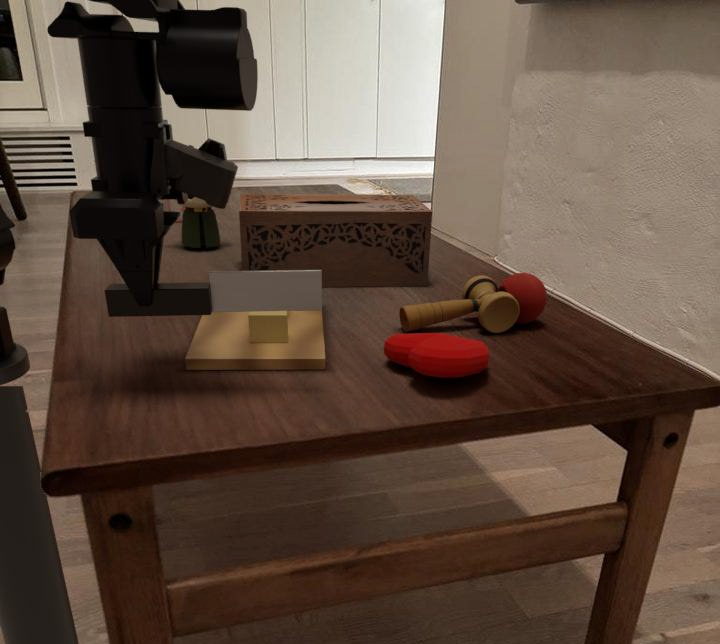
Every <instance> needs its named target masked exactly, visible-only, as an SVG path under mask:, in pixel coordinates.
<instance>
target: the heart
mask: <svg viewBox="0 0 720 644" xmlns="http://www.w3.org/2000/svg"><path fill="white" fill-rule="evenodd" d="M383 354H384V355H385V356H386V358H388V359H389V361H391V362H393V363H396V364H399V365H401V366H405V367H408V368H411V369H412V370H414V371H415V372H417V373H419V374H420V375H424V376H429V377H437V378H463V377H467V376H471V375H474V374H479V373H481V372H482V371H484V370H485V369H486V368H488V365H489V362H490V348H489V347H488V345H486V343H484V341H480V340H475V339H471V338H466V337H461V336H457V335H451V334H448V333H443V332H420V333H419V332H418V333H415V332H414V333H395V334H393V335H391V336H390V337H388V338H387V339H386V340H385V341H384V344H383Z"/></svg>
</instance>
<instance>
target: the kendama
mask: <svg viewBox="0 0 720 644" xmlns="http://www.w3.org/2000/svg"><path fill="white" fill-rule="evenodd" d="M547 301H548V293H547V290H546V287H545V284H544V283H543V281H541V279H540V278H539V277H537V276H535V275H534V274H531V273H528V272H517V273H514V274H511V275H508V277H506V278H505V279H504V280H503V281H501V283H500V285H499V286H498V285H497V283H496V282H495V280H494V279H492V278H491V277H489V276H488V275H476V276H473V277H472V278H470V279H469V280H468V281H467V282H466V283H465V285H464V286H463V288H462V292H461V299H451V300H450V299H449V300H441V301H436V302H428V303H419V304H411V305H410V304H409V305H402V306H400V307H399V313H398V315H399V322H400V326H401V328H402V330H403V332H405V333H410V332H412V331H416V330H418V329H422V328H426V327H429V326H432V325H437V324H440V323H444V322H448V321H452V320H454V319H458V318H461V317H463V316H464V317H465V316H467V315H469V314H472V313H474V312H476V313H477V318H478V322H479V324H480V325H481V326H482V327H483V328H484V330H486V331H487V332H489V333H491V334H501V333H505V332H507V331H508V330H510V329H511V328H512V327H513V326H514V325H515V324H517V325H525V324H528V323H531V322H533V321H535V320H537V319H538V318H539V317H540V316H541V315H542V313H543V311H544V310H545V308H546V305H547Z"/></svg>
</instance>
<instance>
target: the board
mask: <svg viewBox="0 0 720 644" xmlns="http://www.w3.org/2000/svg"><path fill="white" fill-rule="evenodd" d="M248 315H249V312H212V313H211V315H201V317H200V320H199V322H198V324H197V327H196V330H195V333H194V335H193V337H192V340H191V343H190V345H189V347H188V350H187V352H186V355H185V357H184V363H185V371H229V370H230V371H237V370H238V371H264V370H265V371H272V370H273V371H275V370H276V371H281V370H282V371H283V370H284V371H286V370H287V371H288V370H289V371H290V370H291V371H293V370H294V371H296V370H298V371H299V370H300V371H306V370H309V371H310V370H311V371H312V370H313V371H315V370H317V371H319V370H321V371H322V370H324V371H325V370H326V369H327V367H326V365H327V364H326V362H327V358H326V346H325V333H324V320H323V309H322V310H305V311H288V343H250V337H249V318H248Z"/></svg>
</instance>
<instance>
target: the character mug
mask: <svg viewBox="0 0 720 644" xmlns="http://www.w3.org/2000/svg"><path fill="white" fill-rule="evenodd" d="M231 195H232V192H231V193H230V196H231ZM175 200H176V202H177V199H175ZM177 204H178V202H177ZM179 205H181V206H184V207H185V210H184V212H183V215H182V222H181V244H182V245H183V246H184V247H188V248H196V249H200V248H201V245H203V244H205V248H214V247H217V246H220V244H221V237H220V236H221V235H220V229H219V224H218V220H217V219H218V218H217V215H216V212H215V211H214V209H213V208H212V207H213V206H210V205H208V204H207V203H206V201H204V200H202V199H199V198H196V197H194V196H191V195H189V194H188V200H187V202H186V203H185V204H179Z"/></svg>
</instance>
